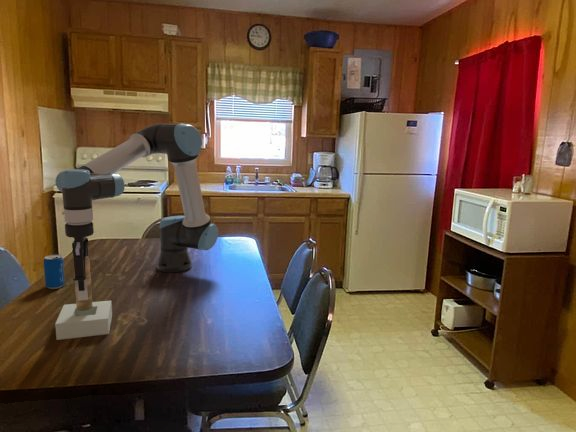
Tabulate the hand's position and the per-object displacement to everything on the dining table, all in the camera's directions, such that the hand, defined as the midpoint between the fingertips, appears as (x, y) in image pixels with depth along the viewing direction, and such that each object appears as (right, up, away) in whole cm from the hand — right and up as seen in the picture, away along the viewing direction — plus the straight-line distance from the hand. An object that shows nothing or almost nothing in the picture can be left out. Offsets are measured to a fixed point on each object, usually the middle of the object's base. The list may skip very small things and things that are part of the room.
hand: (83, 296), depth 127 cm
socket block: (0, -10, +2) cm, 10 cm away
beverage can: (-27, -3, +33) cm, 43 cm away
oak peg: (0, -4, +1) cm, 4 cm away
